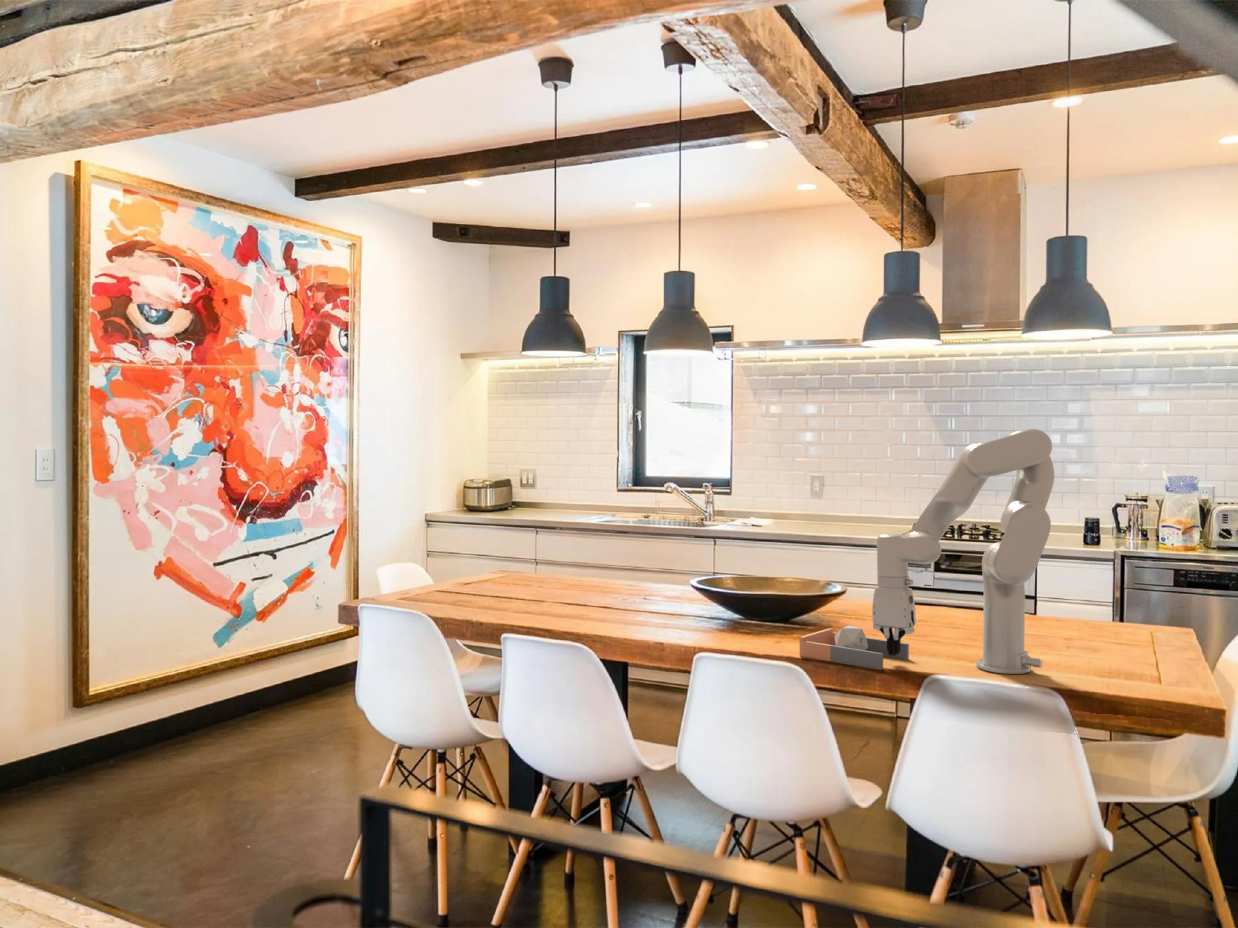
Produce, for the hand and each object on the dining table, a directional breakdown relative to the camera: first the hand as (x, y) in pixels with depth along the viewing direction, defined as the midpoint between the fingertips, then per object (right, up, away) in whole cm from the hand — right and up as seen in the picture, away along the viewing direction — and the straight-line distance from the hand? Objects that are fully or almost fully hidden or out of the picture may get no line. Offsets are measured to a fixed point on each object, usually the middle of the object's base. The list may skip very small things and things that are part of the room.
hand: (893, 654), depth 232 cm
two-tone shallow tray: (-8, -2, +7) cm, 11 cm away
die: (-9, -3, +9) cm, 13 cm away
